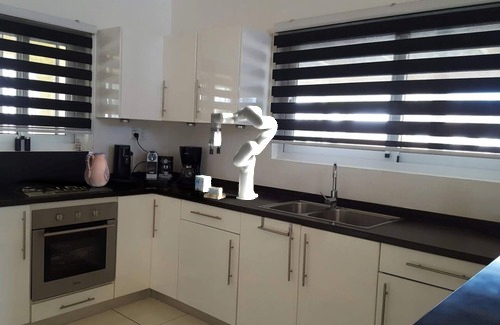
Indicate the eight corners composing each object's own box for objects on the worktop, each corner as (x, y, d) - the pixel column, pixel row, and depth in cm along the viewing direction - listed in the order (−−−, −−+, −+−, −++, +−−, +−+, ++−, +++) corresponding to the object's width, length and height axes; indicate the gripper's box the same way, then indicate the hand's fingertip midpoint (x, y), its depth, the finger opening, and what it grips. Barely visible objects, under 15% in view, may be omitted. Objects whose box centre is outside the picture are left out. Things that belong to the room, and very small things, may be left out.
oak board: (225, 197, 284) (225, 193, 284) (218, 199, 275) (218, 195, 275) (211, 195, 289) (212, 191, 288) (204, 197, 280) (204, 193, 279)
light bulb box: (194, 189, 309) (195, 175, 308) (201, 189, 313) (202, 175, 312) (203, 192, 301) (204, 177, 300) (210, 191, 306) (211, 176, 305)
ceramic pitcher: (113, 184, 317) (113, 152, 315) (100, 188, 296) (100, 154, 294) (91, 183, 319) (91, 151, 317) (77, 187, 298) (77, 153, 296)
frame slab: (221, 195, 281) (222, 187, 281) (219, 196, 278) (219, 188, 278) (210, 194, 285) (210, 186, 285) (207, 195, 282) (208, 187, 282)
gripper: (217, 130, 303) (216, 153, 305) (204, 129, 288) (204, 154, 290) (226, 130, 300) (225, 153, 302) (213, 130, 285) (213, 155, 286)
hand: (215, 154), depth 296 cm, fingers open, 9 cm apart
